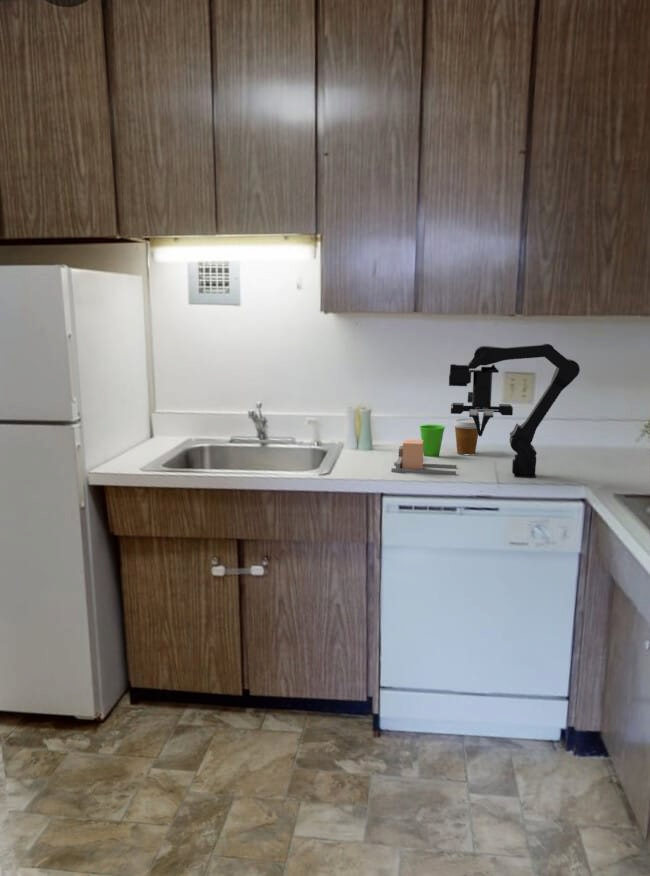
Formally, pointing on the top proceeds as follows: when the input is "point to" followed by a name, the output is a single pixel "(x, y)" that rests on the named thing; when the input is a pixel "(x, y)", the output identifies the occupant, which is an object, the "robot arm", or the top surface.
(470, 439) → the disposable coffee cup
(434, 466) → the track
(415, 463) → the terracotta block
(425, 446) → the cup
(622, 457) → the top surface
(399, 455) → the walnut block
